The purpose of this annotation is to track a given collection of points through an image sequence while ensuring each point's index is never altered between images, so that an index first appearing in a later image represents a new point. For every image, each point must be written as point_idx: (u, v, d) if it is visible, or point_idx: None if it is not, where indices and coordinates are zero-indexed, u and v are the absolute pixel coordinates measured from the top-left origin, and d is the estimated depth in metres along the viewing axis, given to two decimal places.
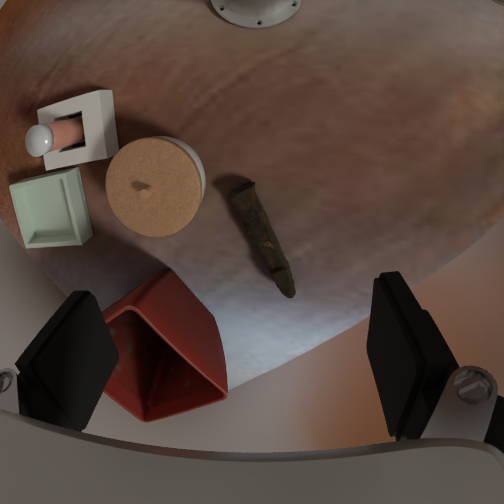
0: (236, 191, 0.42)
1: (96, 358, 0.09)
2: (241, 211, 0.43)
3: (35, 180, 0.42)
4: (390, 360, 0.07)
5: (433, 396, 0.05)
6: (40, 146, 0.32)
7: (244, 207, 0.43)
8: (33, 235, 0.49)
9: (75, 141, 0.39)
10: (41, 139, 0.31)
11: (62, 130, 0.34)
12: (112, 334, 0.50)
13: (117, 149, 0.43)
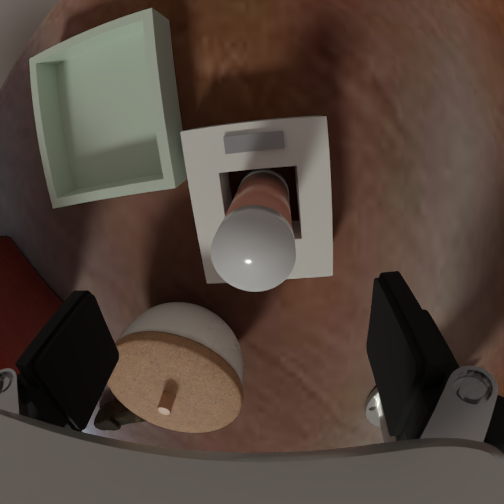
0: None
1: (96, 358, 0.09)
2: None
3: (159, 97, 0.20)
4: (390, 360, 0.07)
5: (433, 396, 0.05)
6: (237, 269, 0.16)
7: None
8: (56, 62, 0.20)
9: None
10: (254, 274, 0.16)
11: None
12: None
13: None
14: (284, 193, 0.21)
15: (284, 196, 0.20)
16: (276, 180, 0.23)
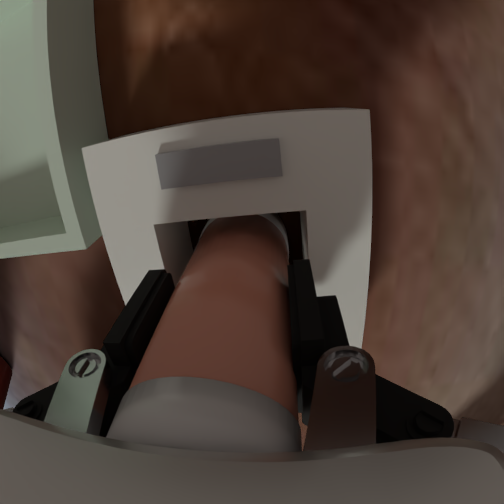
0: None
1: None
2: None
3: (48, 87, 0.09)
4: None
5: (312, 373, 0.07)
6: None
7: None
8: None
9: None
10: None
11: None
12: None
13: None
14: (280, 268, 0.11)
15: (280, 281, 0.10)
16: (265, 233, 0.12)
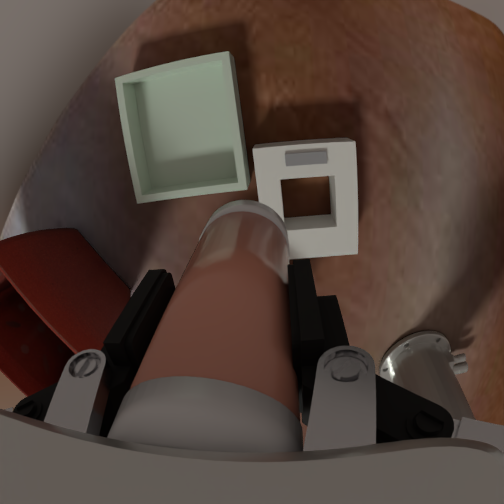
0: None
1: None
2: None
3: (236, 122, 0.29)
4: None
5: (312, 372, 0.07)
6: None
7: None
8: (136, 82, 0.29)
9: None
10: None
11: None
12: None
13: None
14: (281, 268, 0.11)
15: (281, 281, 0.10)
16: (266, 233, 0.12)
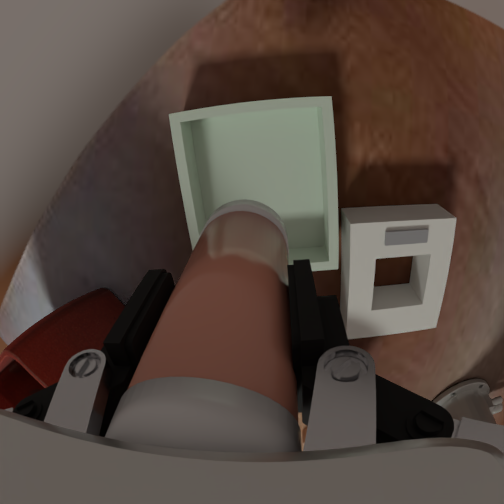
0: None
1: None
2: None
3: (336, 190, 0.24)
4: None
5: (312, 372, 0.07)
6: None
7: None
8: None
9: None
10: None
11: None
12: None
13: None
14: (280, 268, 0.11)
15: (280, 281, 0.10)
16: (265, 233, 0.12)
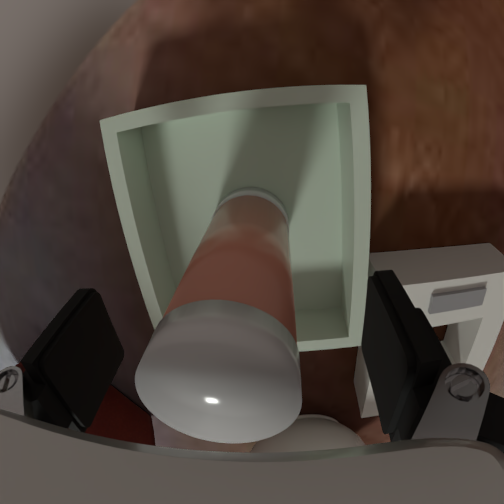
0: None
1: (101, 356, 0.09)
2: None
3: (367, 240, 0.15)
4: (383, 357, 0.07)
5: (424, 394, 0.05)
6: (189, 416, 0.07)
7: None
8: None
9: None
10: (223, 425, 0.08)
11: None
12: None
13: None
14: (281, 238, 0.13)
15: (281, 247, 0.12)
16: (268, 212, 0.14)
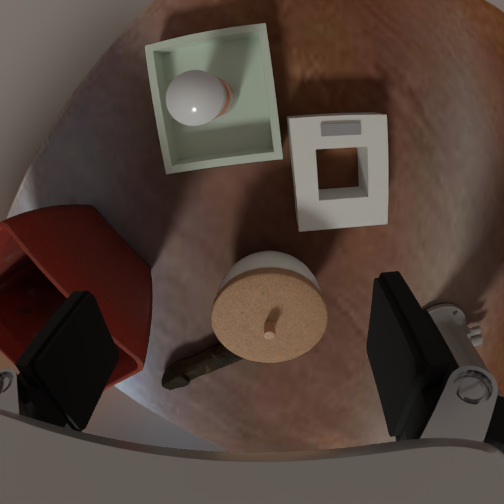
0: None
1: (96, 358, 0.09)
2: None
3: (273, 91, 0.28)
4: (390, 360, 0.07)
5: (433, 396, 0.05)
6: (183, 109, 0.20)
7: None
8: (165, 52, 0.28)
9: None
10: (195, 111, 0.21)
11: None
12: None
13: None
14: (227, 83, 0.26)
15: (226, 83, 0.25)
16: (223, 80, 0.27)
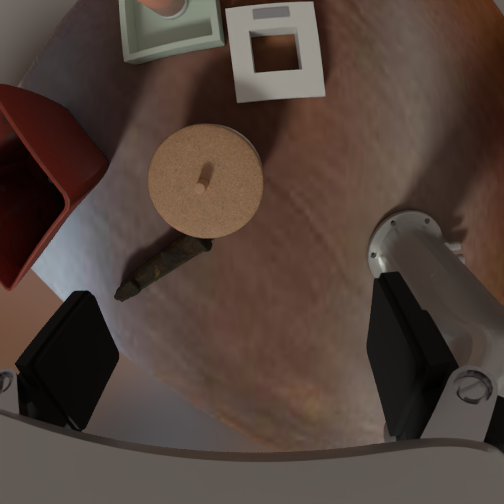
0: None
1: (96, 358, 0.09)
2: (181, 244, 0.43)
3: None
4: (390, 360, 0.07)
5: (433, 396, 0.05)
6: None
7: (186, 247, 0.43)
8: None
9: None
10: None
11: (156, 0, 0.24)
12: None
13: (245, 102, 0.36)
14: None
15: None
16: None
